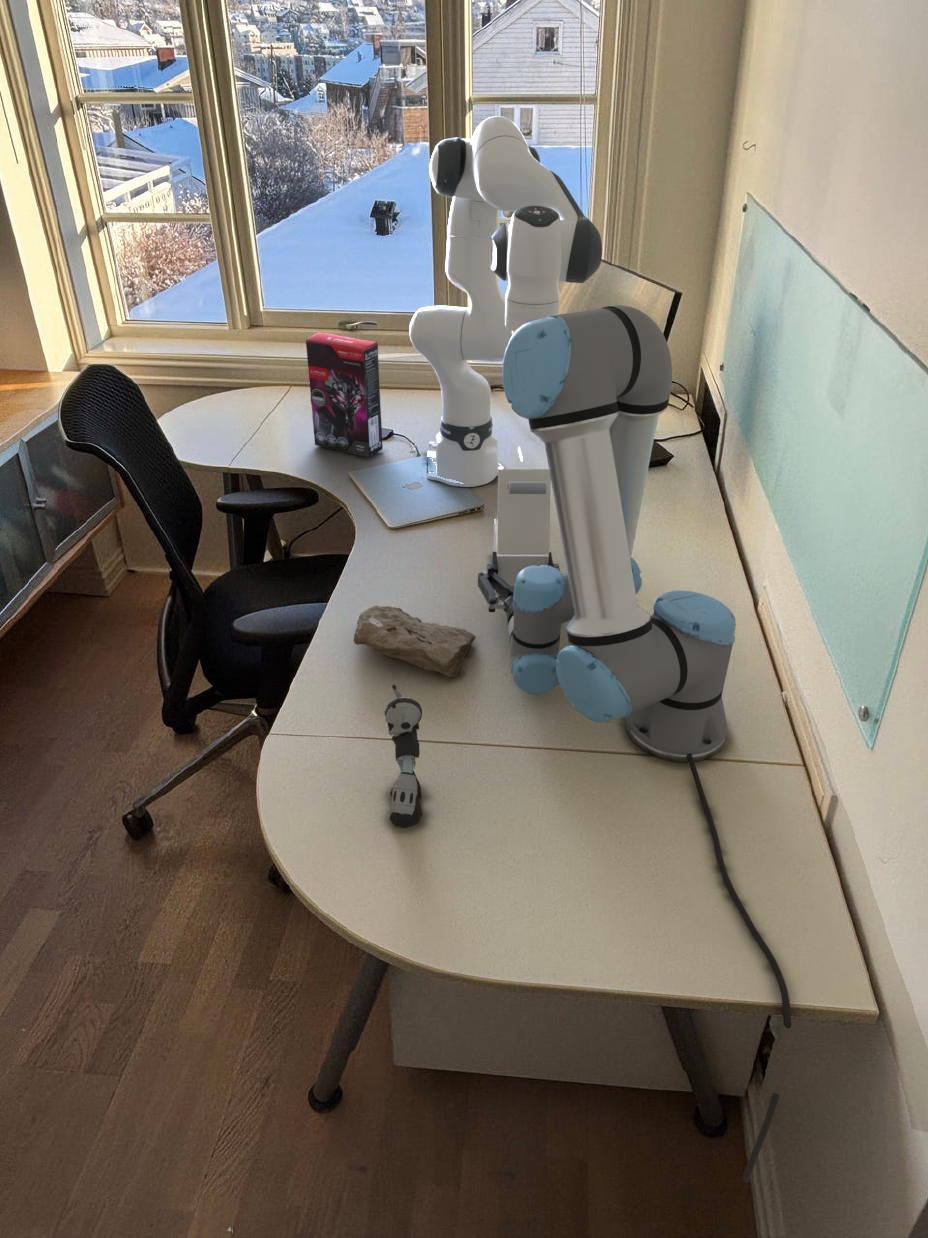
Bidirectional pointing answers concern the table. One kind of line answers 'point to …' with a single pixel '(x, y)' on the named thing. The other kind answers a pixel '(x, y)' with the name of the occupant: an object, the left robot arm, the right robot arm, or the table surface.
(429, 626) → the stone
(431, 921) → the table surface
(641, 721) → the right robot arm
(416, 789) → the robot
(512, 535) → the lid
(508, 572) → the chest
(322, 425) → the graphics card box
